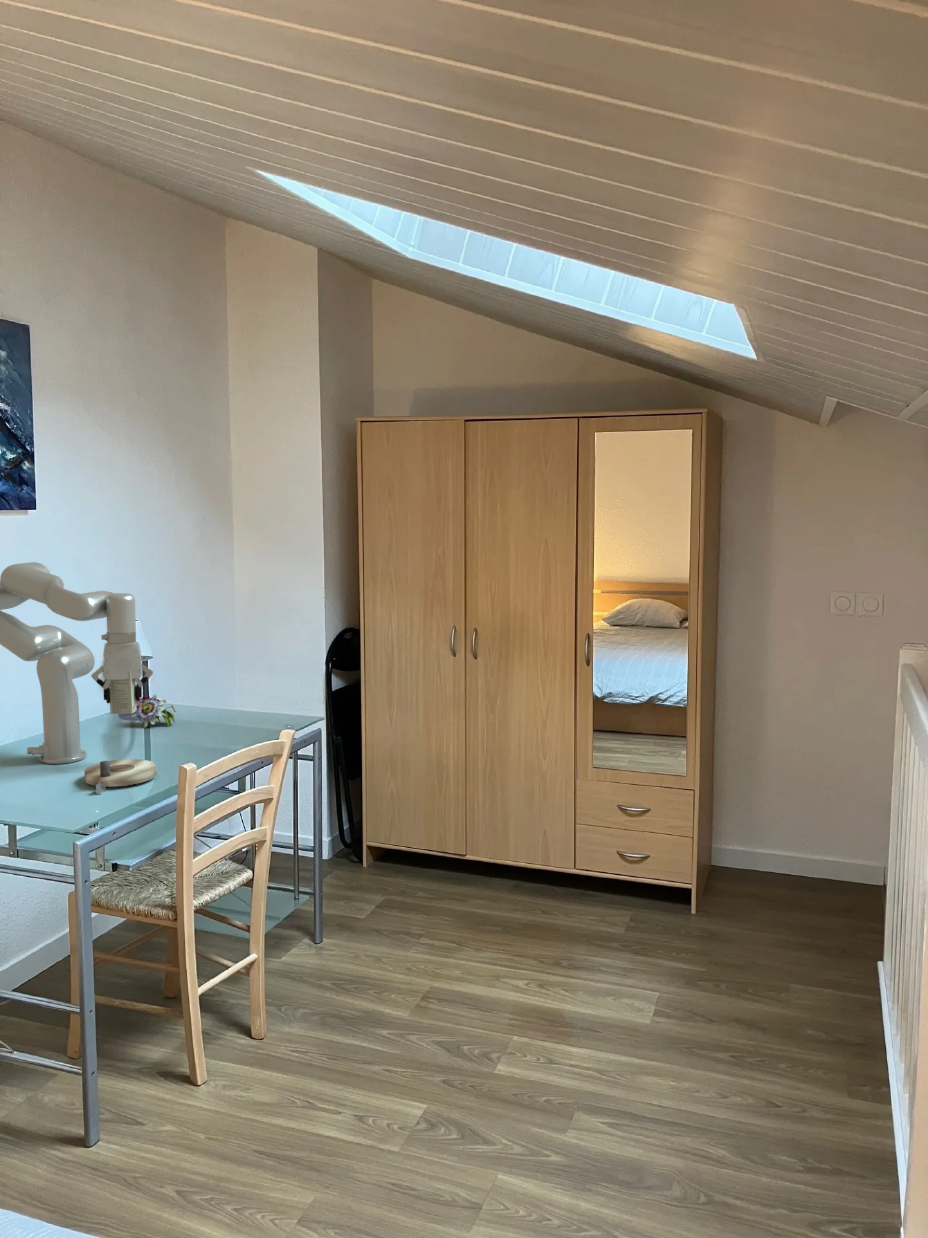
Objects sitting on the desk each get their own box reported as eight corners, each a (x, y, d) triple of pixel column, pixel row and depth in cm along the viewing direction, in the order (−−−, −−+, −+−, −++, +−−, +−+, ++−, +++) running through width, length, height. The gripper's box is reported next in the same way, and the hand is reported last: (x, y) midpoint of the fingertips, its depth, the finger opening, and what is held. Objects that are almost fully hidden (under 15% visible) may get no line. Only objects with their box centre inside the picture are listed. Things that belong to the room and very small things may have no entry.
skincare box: (137, 711, 276) (136, 668, 274) (132, 714, 272) (131, 671, 270) (113, 710, 276) (113, 667, 274) (108, 714, 271) (107, 670, 270)
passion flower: (147, 743, 318) (123, 715, 316) (161, 729, 329) (138, 701, 327) (171, 726, 315) (147, 697, 313) (185, 713, 325) (162, 684, 323)
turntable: (70, 783, 254) (69, 761, 253) (110, 765, 271) (109, 744, 271) (132, 788, 250) (131, 766, 249) (169, 769, 267) (168, 748, 266)
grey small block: (102, 790, 251) (102, 781, 251) (107, 790, 251) (106, 781, 251) (96, 794, 248) (95, 785, 248) (100, 794, 248) (100, 785, 247)
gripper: (88, 641, 264) (90, 706, 266) (156, 639, 271) (157, 702, 273) (86, 637, 271) (88, 700, 273) (152, 635, 278) (153, 696, 280)
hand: (122, 700), depth 273 cm, fingers closed on skincare box, 7 cm apart
